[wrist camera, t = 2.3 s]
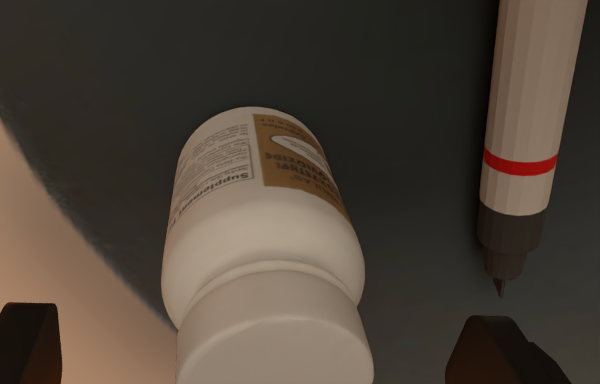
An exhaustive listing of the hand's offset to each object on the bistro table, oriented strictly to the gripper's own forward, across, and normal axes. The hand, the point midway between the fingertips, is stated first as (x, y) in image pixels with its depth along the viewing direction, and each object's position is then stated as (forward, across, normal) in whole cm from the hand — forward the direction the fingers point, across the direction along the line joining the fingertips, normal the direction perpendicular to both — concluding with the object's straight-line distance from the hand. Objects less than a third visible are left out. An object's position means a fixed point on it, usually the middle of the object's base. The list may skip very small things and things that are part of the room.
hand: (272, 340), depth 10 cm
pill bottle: (+6, 0, 0) cm, 7 cm away
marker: (+6, -7, -4) cm, 10 cm away
